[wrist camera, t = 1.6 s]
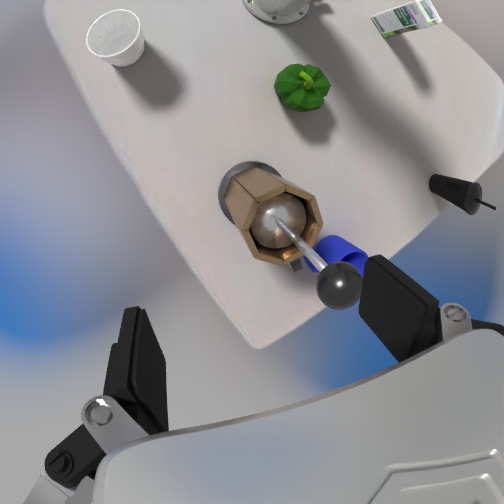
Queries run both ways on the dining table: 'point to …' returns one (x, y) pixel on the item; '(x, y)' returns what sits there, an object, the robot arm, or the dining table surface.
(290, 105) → the bell pepper
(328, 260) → the mug
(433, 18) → the syrup box
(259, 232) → the plunger
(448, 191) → the drinking cup
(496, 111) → the dining table surface
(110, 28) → the white cup
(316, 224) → the tan octagonal hollow container
